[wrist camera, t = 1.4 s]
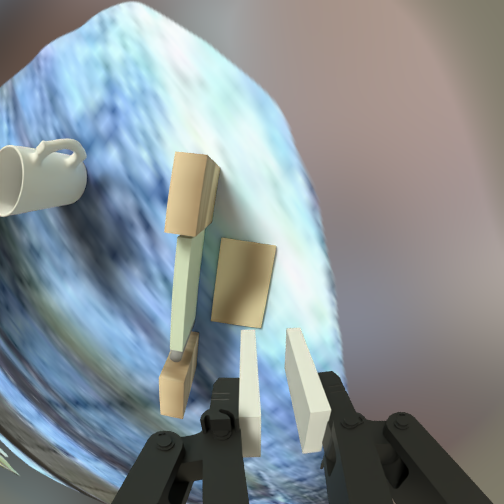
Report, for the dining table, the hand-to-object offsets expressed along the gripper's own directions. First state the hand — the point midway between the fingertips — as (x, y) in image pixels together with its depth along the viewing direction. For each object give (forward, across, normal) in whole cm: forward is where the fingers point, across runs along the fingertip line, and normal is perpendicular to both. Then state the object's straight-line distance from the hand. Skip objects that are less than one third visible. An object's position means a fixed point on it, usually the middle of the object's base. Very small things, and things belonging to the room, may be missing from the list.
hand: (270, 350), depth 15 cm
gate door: (+16, -7, -1) cm, 18 cm away
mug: (+17, -22, +12) cm, 30 cm away
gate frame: (+16, -4, -1) cm, 17 cm away
